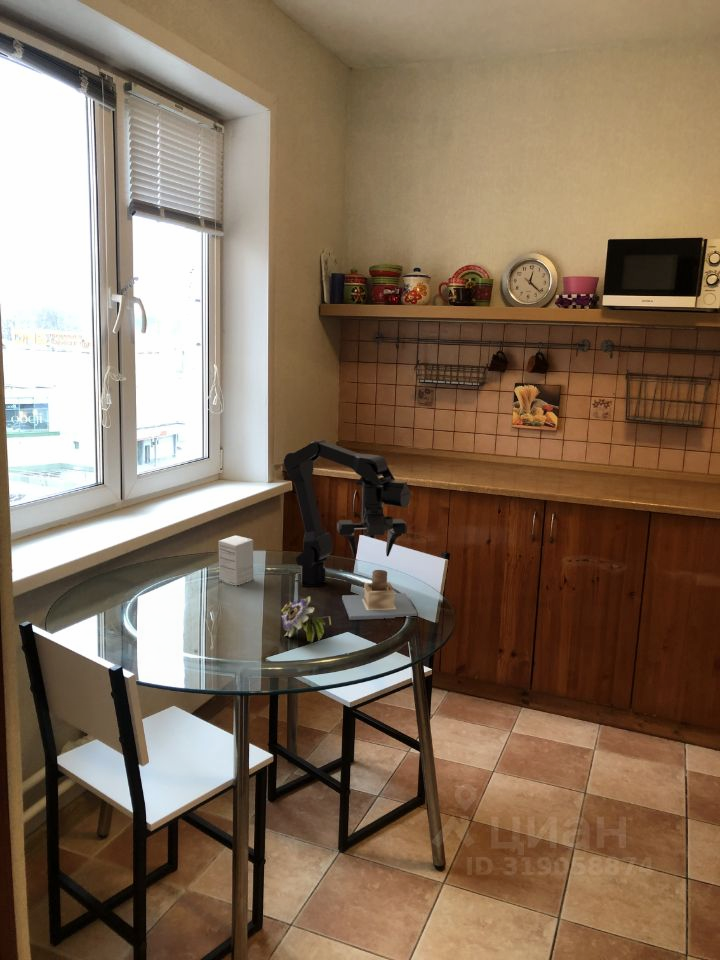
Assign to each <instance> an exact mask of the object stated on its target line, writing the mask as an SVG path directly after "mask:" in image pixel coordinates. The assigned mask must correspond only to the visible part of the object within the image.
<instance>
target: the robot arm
mask: <svg viewBox="0 0 720 960" xmlns="http://www.w3.org/2000/svg"><path fill="white" fill-rule="evenodd" d="M320 457H321V458H324V459H326V460H328V461H331V462H334V463H337V464H339V465H341V466H345V467H348V468H350V470H352V471H354V472H355V474H357V475H359V477H360V478H359V479H358V480H357V481H355V485H357V486H362V493H361V494H362V495H361V496H362V498H361V499H362V501H361V502H362V503H361V522H360V523H358V522H357V523H354V521H353V519H339V520H338V521H337V522H336V523H337V524H336V530H337V533H338V535H341V536H343V538H345V539H346V538H347V540H348V542H349V545H350V548H351V551H352V556H353V557H354V558H356V557H357V549H356V547H357V546H356V535H355V531H366V533H367V535H368V536H373V537H374V536H384V535H386V531H387V535H386V536H387V538H386V547H385V552H386V557H389V556H390V553H391V551H392V548H393V545H394V543H395V541H397V538H399V537H402V535H403V534H407V533H408V526H407V525H408V524H407V523H406V522H405V521H404V520H403V519H402V518H393V516H390V515H389V516H385V514H384V505H386V506H392V507H397V508H401V509H402V508H404V509H405V508H408V505H409V504H410V501H411V496H412V494H411V491H410V488H409V487H408V482H407V481H397V480H396V478H395V477H394V475H393V473H392V472H391V469H389V466H388V463H387V460H386V458H385V457H384V456H382V455H378V454H370V453H369V454H368V453H358V452H356V451H352V450H350V449H347V448H344V447H341V446H338V445H335V444H334V443H331V442H328V441H326V440H325V439H318V440H314V441H311V442H310V443H309V444H307V445H306V446H303V447H302V448H300V449H299V450H296V451H292V452H288V453H287V454H286V455H285V457H284V458H283V467H284V469H285V471H286V474H287V476H288V477H289V479H291V480H290V481H292V482H293V484H294V488H295V491H296V495H297V496H296V497H297V501H298V505H299V509H300V514H301V519H302V522H303V527H304V536H303V539H302V540H303V541H302V547H303V549H302V550H303V551H302V552H301V553H300V554H299V555H298V556H297V557H295V560H296V564H297V565H298V566H300V569H301V570H300V578H299V579H300V580H299V581H300V583H301V587H323V586H325V582H326V567H325V565H324V562H326V561H327V560H328V559H329V556H330V555H331V553H333V546H334V545H335V544H334V542H333V540H332V533H331V532H330V531H329V532H326V531H325V530H324V528H323V527H322V522H321V519H320V518H321V516H320V513H319V509H318V504H317V499H316V496H315V491H314V487H313V482H312V478H313V473H314V470H315V469H314V468H315V467H314V462H315V461H317V460H318V459H319V458H320Z"/></svg>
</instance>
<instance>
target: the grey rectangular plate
mask: <svg viewBox="0 0 720 960" xmlns="http://www.w3.org/2000/svg"><path fill="white" fill-rule="evenodd" d="M341 600H342V602H343V605H344V608H345V610H346V614H347V615H348V619H349V620H350V621H356V620H358V621H359V620H382V619H383V620H384V618H385V619H396V618H395V617H404V616H417V617H418V612H417V611H416V608H415V607H414V606H413V604H412V602H411V600H410V599H409V597H408V596H407V593H405V592H404V593H402V592H400V593H399V592H398V593H395V597H394V608H388V609H368V607H367V605H366V603H365V601H364V594H350V595H349V594H347V595H346V594H345V595H342V596H341Z"/></svg>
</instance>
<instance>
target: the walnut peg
mask: <svg viewBox="0 0 720 960" xmlns="http://www.w3.org/2000/svg"><path fill="white" fill-rule="evenodd" d="M371 573H372V575H371V578H372V579H371V583H372V591H387V582H388V571H386V570H384V569H374V570H373V571H372V572H371Z"/></svg>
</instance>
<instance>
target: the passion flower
mask: <svg viewBox="0 0 720 960" xmlns="http://www.w3.org/2000/svg"><path fill="white" fill-rule="evenodd" d="M311 602H312V597H311V596H310V595H309V596H307V597H306V598H299V599H297V600H296V601H295V600H294V601H293V602H291V600H289V601H288V602H287V603H286V604H285V605H284V607H282V609H281V614H280V615H281V618H282V619H281V622H282V624H283V625H282V628H283V629H284V631H286V633H285V634H284V637H285V636H288V637H289V638H292V637H293V636H294V635H295V633H296V631H297V630H298V631H299V630H302V629H303V631H305V633H306V639H307V642H308V641H311V642H313V643H314V639H315V631H316V635H317V641H318V642H319V641H320V639H322V637H323V635H324V633H325V630H324V629H325V628H324V626H326V623H325V620H323V619H325V618H327V619H328V626H332V619H331V615H329V616H322V617H314V616H313V613H314V612H315V607H313V606H311V607H309V605H310V604H311ZM313 617H314V618H313ZM314 629H315V630H314Z"/></svg>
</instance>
